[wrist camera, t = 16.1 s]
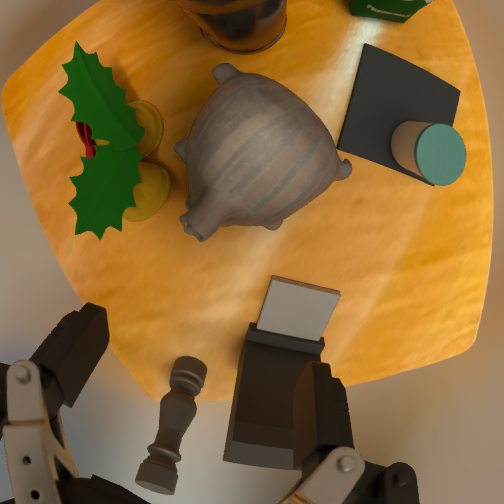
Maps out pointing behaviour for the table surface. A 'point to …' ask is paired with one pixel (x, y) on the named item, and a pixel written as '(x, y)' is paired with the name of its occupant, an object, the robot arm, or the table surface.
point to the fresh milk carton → (387, 8)
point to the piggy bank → (254, 155)
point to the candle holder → (172, 426)
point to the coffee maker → (276, 372)
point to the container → (429, 151)
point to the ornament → (112, 149)
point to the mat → (392, 105)
